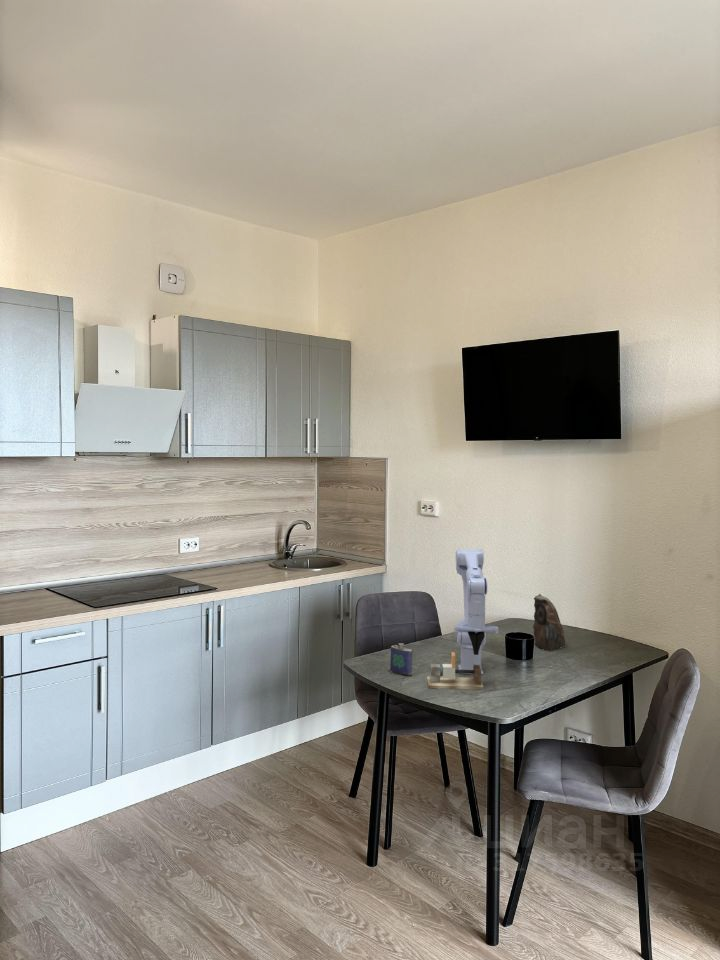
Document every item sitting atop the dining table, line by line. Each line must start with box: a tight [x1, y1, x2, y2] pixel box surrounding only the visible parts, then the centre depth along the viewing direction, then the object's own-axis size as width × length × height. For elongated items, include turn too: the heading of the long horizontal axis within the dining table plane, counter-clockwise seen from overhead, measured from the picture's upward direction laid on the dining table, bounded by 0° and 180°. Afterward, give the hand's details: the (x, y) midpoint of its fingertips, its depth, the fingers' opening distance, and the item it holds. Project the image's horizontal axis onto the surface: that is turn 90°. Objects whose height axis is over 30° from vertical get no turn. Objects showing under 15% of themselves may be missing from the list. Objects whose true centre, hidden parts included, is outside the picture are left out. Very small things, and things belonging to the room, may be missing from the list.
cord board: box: [426, 663, 484, 691], centre depth 245 cm, size 18×9×6 cm, turn 87°
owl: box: [532, 593, 566, 652], centre depth 293 cm, size 13×13×20 cm
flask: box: [389, 642, 413, 677], centre depth 257 cm, size 9×3×11 cm, turn 47°
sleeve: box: [441, 651, 456, 679], centre depth 245 cm, size 4×4×8 cm
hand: (475, 654), depth 245 cm, fingers closed
